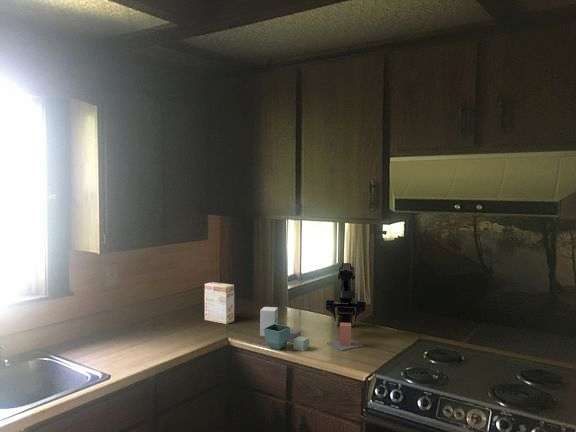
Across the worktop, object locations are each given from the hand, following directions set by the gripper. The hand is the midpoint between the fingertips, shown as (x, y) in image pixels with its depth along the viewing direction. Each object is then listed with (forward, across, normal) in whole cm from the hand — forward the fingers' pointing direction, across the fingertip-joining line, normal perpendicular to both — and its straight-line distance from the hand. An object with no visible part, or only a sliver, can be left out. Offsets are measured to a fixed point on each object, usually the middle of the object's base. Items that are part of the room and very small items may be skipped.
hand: (345, 321), depth 232 cm
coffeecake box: (-10, -66, +23) cm, 70 cm away
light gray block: (+10, -24, +2) cm, 26 cm away
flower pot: (+17, -30, -4) cm, 35 cm away
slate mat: (+12, 0, 0) cm, 12 cm away
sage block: (+17, -19, -5) cm, 26 cm away
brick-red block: (+11, 0, 0) cm, 11 cm away
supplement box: (+4, -36, +8) cm, 37 cm away
